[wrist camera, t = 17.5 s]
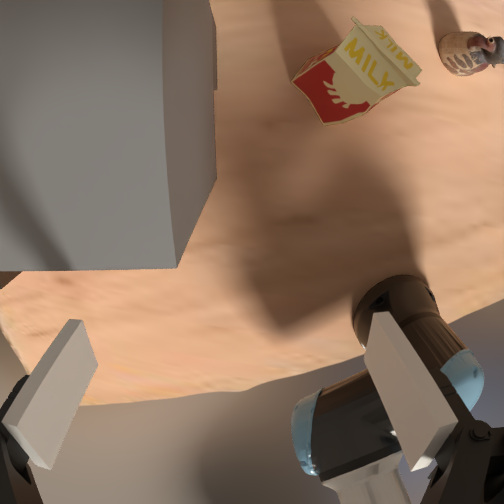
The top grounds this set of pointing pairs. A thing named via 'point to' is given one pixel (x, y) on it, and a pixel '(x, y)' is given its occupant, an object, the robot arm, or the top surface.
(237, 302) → the top surface
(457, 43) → the figurine
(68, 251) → the cabinet
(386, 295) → the robot arm
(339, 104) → the milk carton
